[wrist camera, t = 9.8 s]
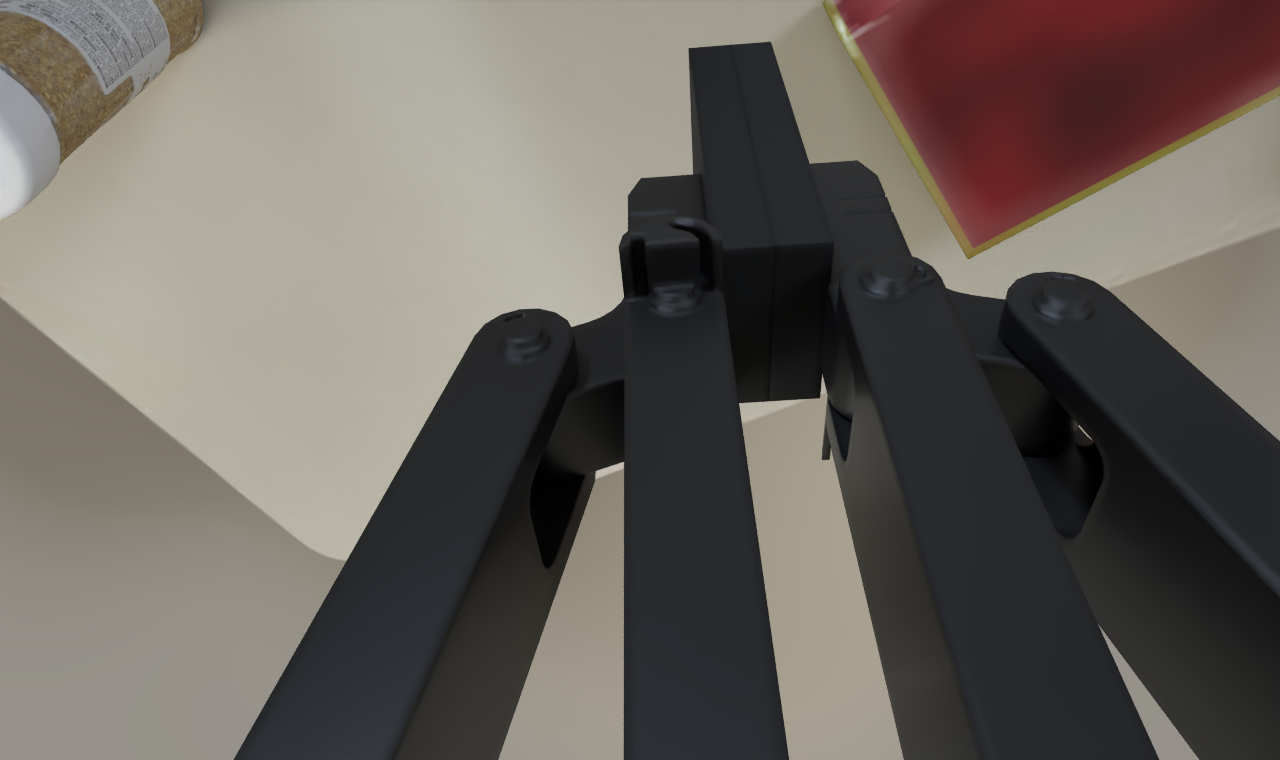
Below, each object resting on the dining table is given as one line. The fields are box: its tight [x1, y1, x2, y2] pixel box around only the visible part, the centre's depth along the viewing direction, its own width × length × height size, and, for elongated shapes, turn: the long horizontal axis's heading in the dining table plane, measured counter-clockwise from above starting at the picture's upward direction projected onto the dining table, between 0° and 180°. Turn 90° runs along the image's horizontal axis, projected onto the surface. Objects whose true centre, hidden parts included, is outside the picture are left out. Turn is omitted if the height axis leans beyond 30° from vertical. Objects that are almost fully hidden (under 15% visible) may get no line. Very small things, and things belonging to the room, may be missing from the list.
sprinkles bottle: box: [0, 0, 204, 219], centre depth 28 cm, size 5×5×14 cm
